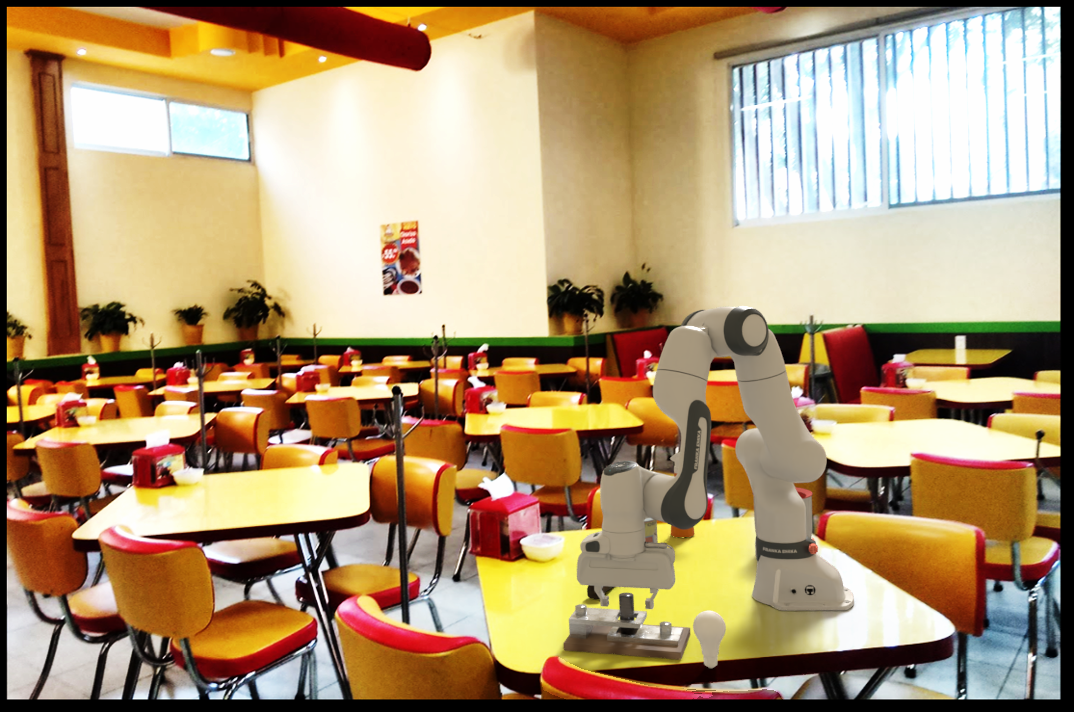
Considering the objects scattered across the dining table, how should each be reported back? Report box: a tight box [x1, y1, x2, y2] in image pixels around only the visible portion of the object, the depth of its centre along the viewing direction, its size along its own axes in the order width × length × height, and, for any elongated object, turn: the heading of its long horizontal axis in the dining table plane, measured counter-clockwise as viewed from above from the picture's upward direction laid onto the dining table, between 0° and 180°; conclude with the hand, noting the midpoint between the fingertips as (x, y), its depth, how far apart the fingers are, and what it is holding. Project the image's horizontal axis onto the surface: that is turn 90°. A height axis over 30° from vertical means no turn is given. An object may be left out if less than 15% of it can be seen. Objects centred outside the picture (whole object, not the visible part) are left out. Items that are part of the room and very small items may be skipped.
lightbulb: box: [692, 610, 727, 669], centre depth 164 cm, size 6×6×11 cm
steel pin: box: [618, 592, 636, 635], centre depth 178 cm, size 3×3×8 cm
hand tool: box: [586, 585, 613, 601], centre depth 213 cm, size 19×4×5 cm, turn 150°
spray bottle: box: [669, 451, 695, 538], centre depth 254 cm, size 7×11×26 cm, turn 42°
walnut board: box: [563, 623, 691, 661], centre depth 179 cm, size 24×13×2 cm, turn 72°
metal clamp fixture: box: [568, 603, 683, 646], centre depth 178 cm, size 22×7×6 cm, turn 72°
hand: (627, 606), depth 178 cm, fingers open, 8 cm apart
